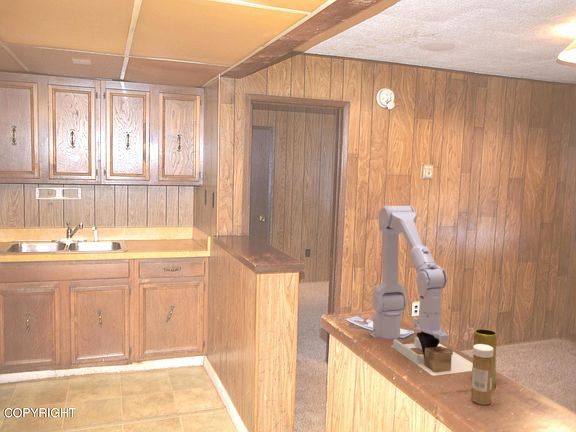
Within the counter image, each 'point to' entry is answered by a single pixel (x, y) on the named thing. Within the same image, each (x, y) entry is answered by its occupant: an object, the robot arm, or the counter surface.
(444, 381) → the counter surface
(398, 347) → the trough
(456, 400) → the counter surface
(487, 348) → the sprinkles bottle
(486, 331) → the vase
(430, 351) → the walnut block
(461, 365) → the board
